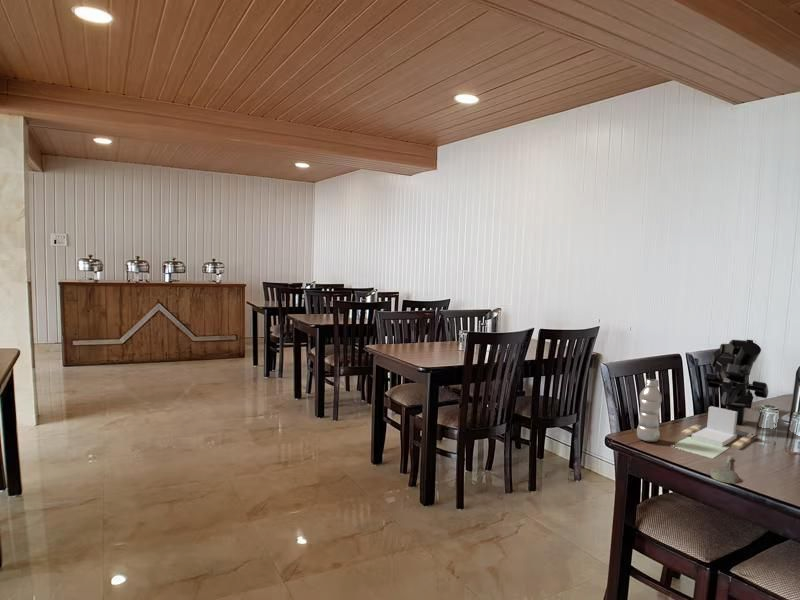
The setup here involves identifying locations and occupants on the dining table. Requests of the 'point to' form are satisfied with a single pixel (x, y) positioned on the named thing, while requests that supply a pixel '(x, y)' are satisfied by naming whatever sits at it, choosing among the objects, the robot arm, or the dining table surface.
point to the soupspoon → (725, 473)
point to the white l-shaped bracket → (718, 427)
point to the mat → (700, 447)
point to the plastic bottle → (649, 411)
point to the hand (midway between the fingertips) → (728, 403)
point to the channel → (736, 445)
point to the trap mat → (739, 433)
